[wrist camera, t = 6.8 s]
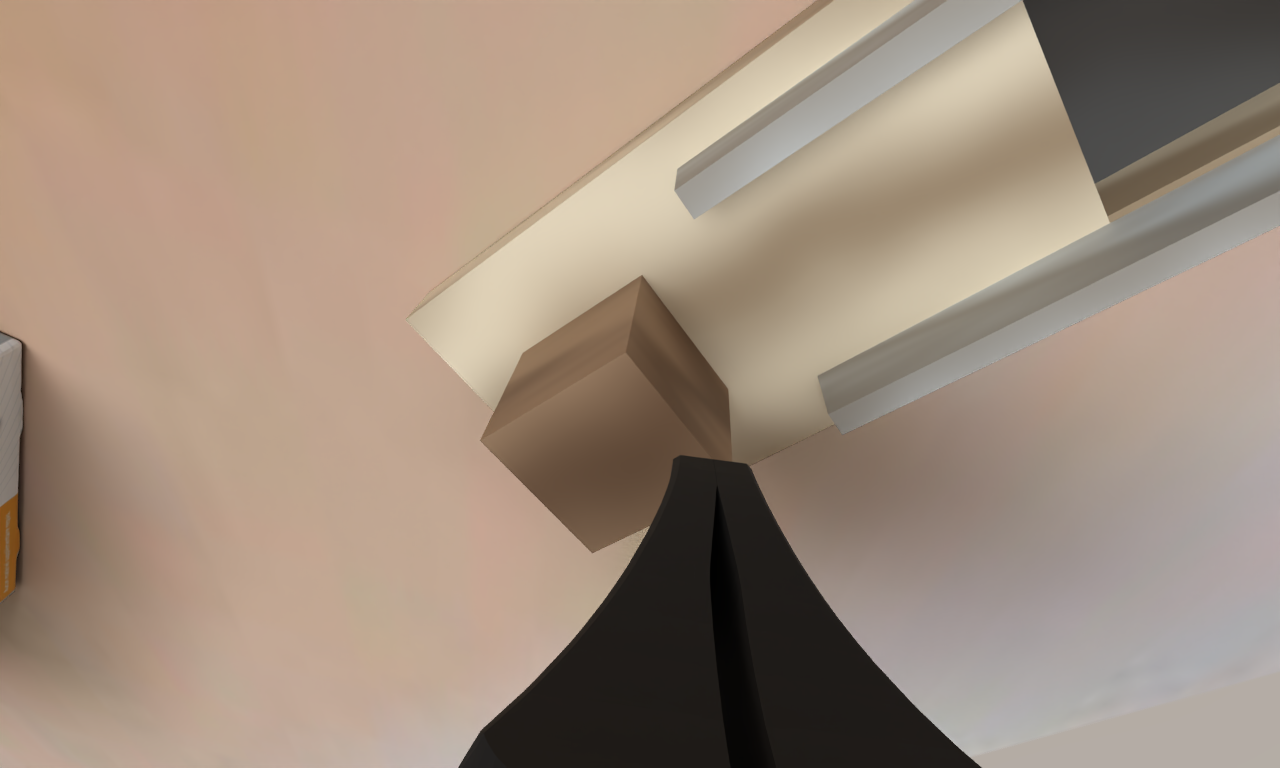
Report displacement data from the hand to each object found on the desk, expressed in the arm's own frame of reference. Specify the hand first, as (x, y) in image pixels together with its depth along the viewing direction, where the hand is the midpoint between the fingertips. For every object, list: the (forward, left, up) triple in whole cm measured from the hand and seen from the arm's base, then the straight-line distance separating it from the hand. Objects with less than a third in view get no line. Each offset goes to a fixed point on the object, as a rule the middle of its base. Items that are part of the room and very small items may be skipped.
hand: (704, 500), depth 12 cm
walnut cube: (0, +3, -8) cm, 8 cm away
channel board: (0, -6, -10) cm, 11 cm away
